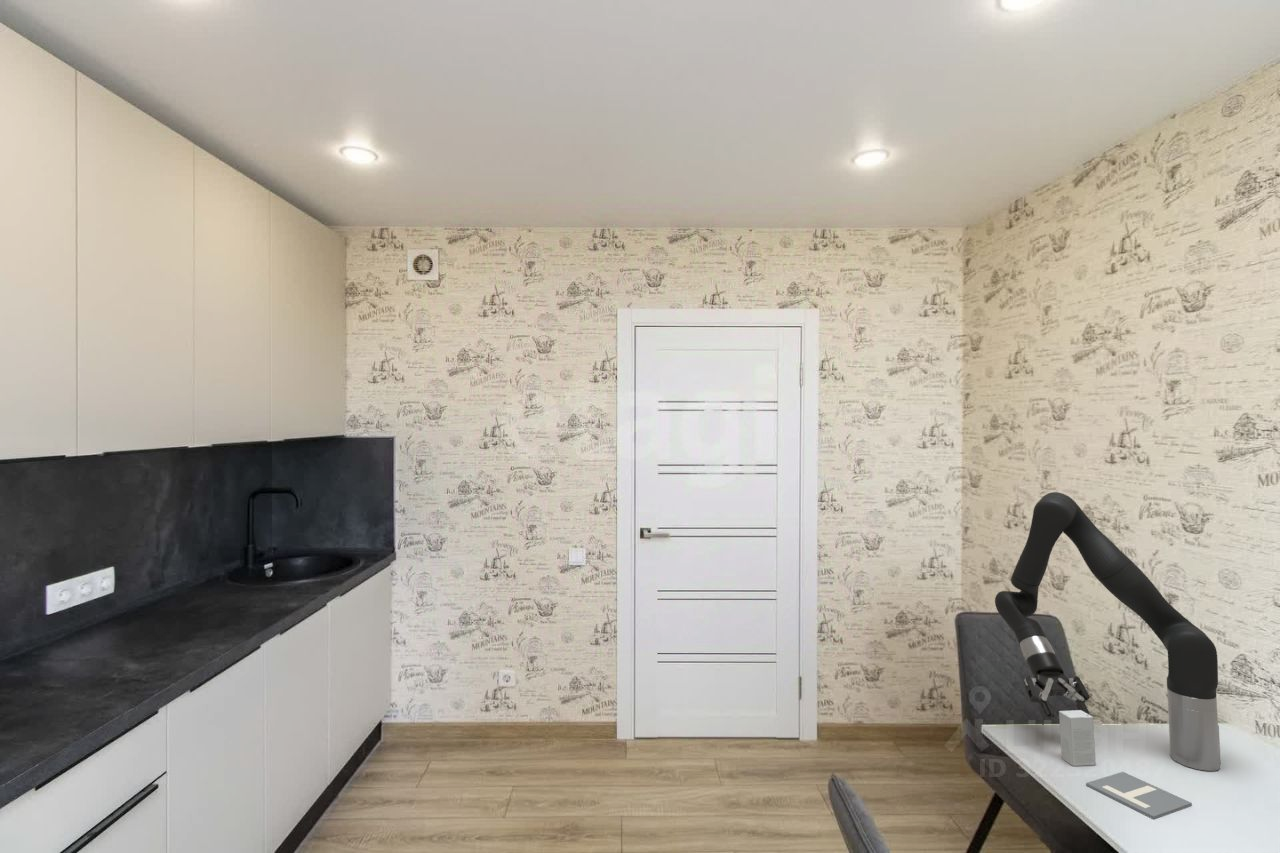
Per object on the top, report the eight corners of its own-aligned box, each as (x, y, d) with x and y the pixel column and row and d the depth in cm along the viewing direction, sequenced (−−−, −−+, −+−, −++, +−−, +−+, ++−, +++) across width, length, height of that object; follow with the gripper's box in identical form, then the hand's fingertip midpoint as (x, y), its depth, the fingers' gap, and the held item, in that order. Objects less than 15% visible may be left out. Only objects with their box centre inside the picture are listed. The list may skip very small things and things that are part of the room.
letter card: (1123, 774, 148) (1122, 771, 148) (1191, 805, 135) (1191, 802, 135) (1086, 785, 144) (1085, 782, 144) (1153, 819, 130) (1153, 816, 131)
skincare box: (1083, 756, 156) (1081, 709, 157) (1096, 765, 152) (1094, 716, 153) (1060, 757, 156) (1058, 710, 157) (1072, 766, 152) (1070, 717, 152)
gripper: (1019, 650, 167) (1046, 711, 155) (1073, 650, 166) (1104, 712, 154) (1009, 663, 172) (1034, 723, 160) (1061, 663, 171) (1091, 723, 159)
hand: (1069, 717), depth 157 cm, fingers open, 8 cm apart
